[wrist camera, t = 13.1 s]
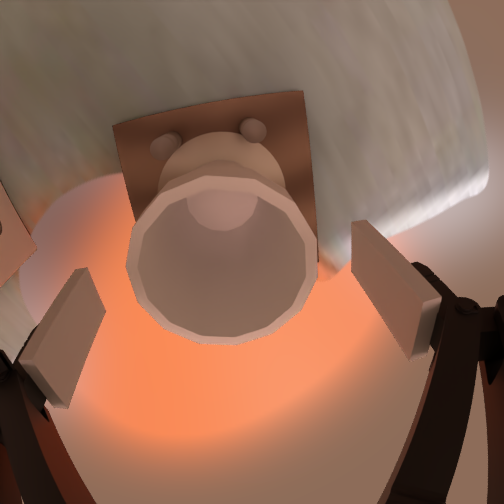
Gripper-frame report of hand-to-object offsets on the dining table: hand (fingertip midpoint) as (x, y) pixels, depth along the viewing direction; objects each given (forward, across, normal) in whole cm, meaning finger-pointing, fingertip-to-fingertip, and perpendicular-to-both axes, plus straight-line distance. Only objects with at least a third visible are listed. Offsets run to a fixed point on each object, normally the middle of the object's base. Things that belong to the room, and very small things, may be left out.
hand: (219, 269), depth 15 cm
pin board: (+15, 0, 0) cm, 15 cm away
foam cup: (+13, 0, 0) cm, 13 cm away
